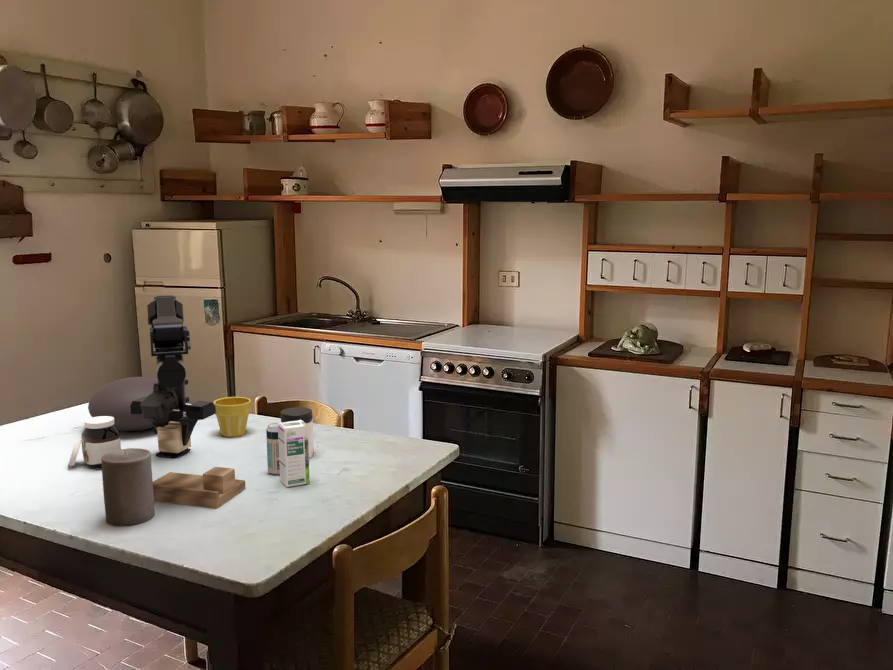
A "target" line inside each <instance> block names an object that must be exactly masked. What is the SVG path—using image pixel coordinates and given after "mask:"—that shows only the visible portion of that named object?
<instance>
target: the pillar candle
mask: <svg viewBox="0 0 893 670" xmlns="http://www.w3.org/2000/svg"><path fill="white" fill-rule="evenodd" d="M101 462H102V468H101V477H102V491H103V502H104V503H103V504H104V511H105V522H106V523H107V524H108V525H111V526H115V527H126V526H128V527H129V526H134V525H139V524H143V523H145V522H147V521H149V520H151V519H152V518H154V516H155V501H154V494H153V481H154V479H153V468H152V452H151V451H150V450H148V449H146V448H136V447H135V448H134V447H133V448H132V447H129V448H128V447H127V448H121V450H115V451H112V452H108V453H106V454H105V455H103V456H102V458H101Z"/></svg>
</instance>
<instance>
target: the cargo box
mask: <svg viewBox="0 0 893 670" xmlns="http://www.w3.org/2000/svg"><path fill="white" fill-rule="evenodd" d="M235 471H236V470H235V468H231V467H222V466H214V467H212V468H210V469H208V470H207V471H206V472H205V471H204V472H203V473H202V476H203V490H212V491H219V493H225V492H226V491H228V490H229V489H231V488H232V487H234V486H235V479H236V472H235Z"/></svg>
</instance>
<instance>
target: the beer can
mask: <svg viewBox="0 0 893 670" xmlns="http://www.w3.org/2000/svg"><path fill="white" fill-rule="evenodd" d="M278 423H279V422H273V423H269V424H268V425H267V427H266V429H265V430H266V431H265V432H266V451H267V452H266V453H267V454H266V456H267V457H266V459H267V472H268V473H269V474H272V475H276V476H277V475H280V464H279V440H278Z"/></svg>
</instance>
